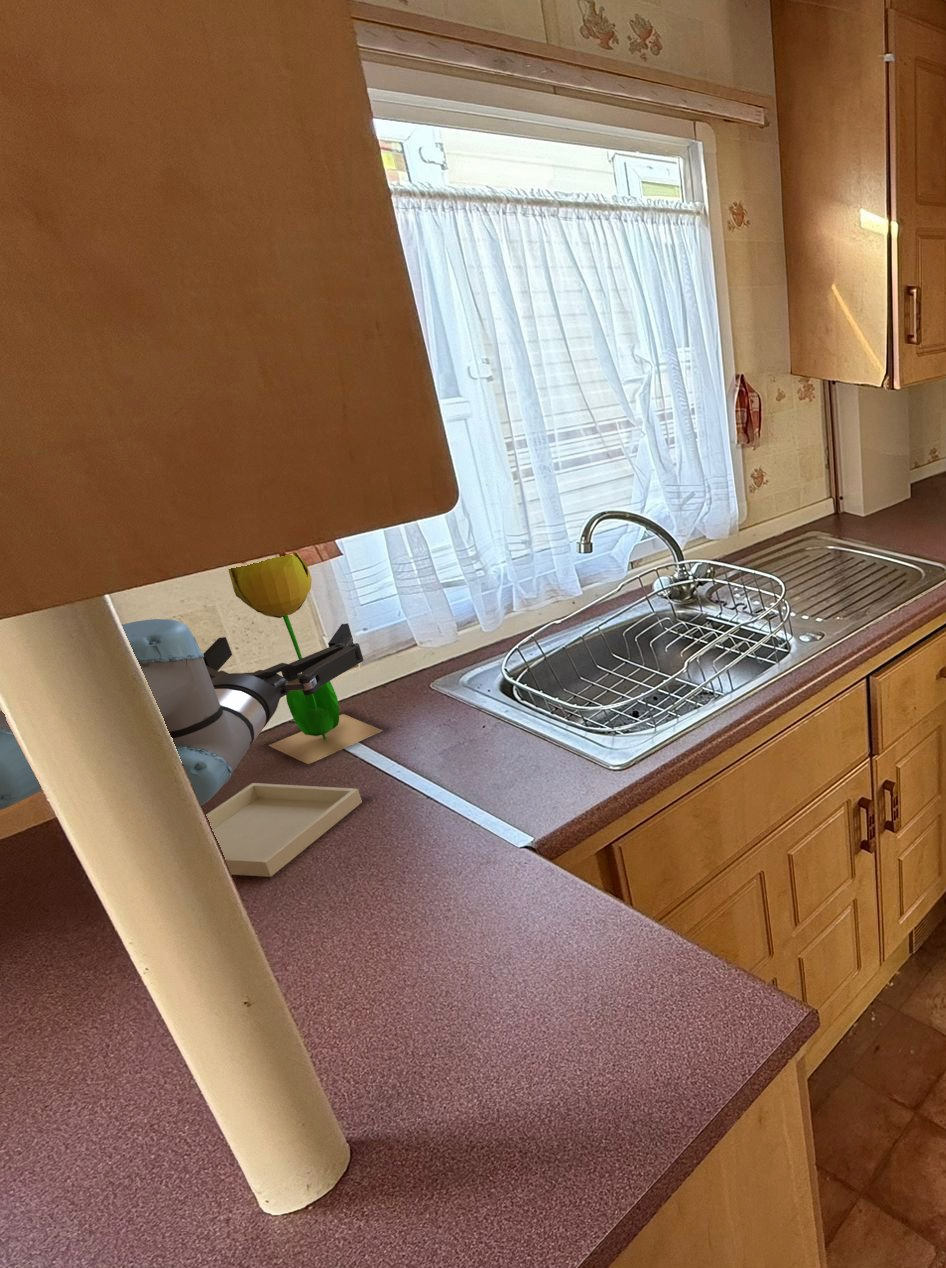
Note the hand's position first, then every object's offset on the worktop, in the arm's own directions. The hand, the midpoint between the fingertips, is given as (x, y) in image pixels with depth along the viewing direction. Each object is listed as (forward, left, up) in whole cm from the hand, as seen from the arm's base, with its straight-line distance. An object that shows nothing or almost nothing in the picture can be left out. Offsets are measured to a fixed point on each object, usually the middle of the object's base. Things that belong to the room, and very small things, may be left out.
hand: (288, 639), depth 118 cm
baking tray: (+9, -20, -17) cm, 28 cm away
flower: (-1, +1, -17) cm, 17 cm away
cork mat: (0, +1, -17) cm, 17 cm away
